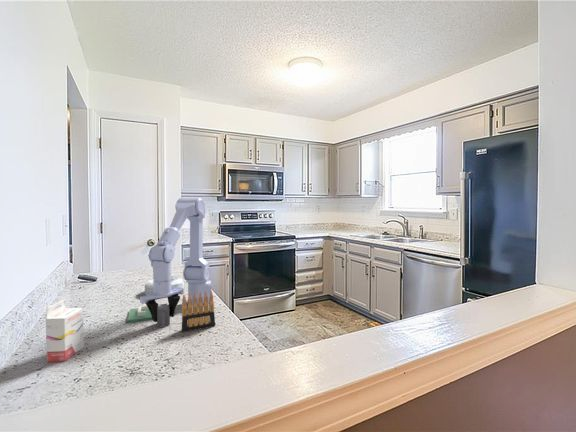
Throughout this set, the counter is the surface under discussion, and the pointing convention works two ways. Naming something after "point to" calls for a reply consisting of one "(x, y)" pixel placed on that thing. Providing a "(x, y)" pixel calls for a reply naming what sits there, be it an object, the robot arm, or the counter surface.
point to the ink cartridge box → (63, 331)
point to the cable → (175, 283)
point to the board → (140, 314)
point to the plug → (163, 316)
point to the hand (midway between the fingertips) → (163, 318)
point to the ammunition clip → (197, 313)
